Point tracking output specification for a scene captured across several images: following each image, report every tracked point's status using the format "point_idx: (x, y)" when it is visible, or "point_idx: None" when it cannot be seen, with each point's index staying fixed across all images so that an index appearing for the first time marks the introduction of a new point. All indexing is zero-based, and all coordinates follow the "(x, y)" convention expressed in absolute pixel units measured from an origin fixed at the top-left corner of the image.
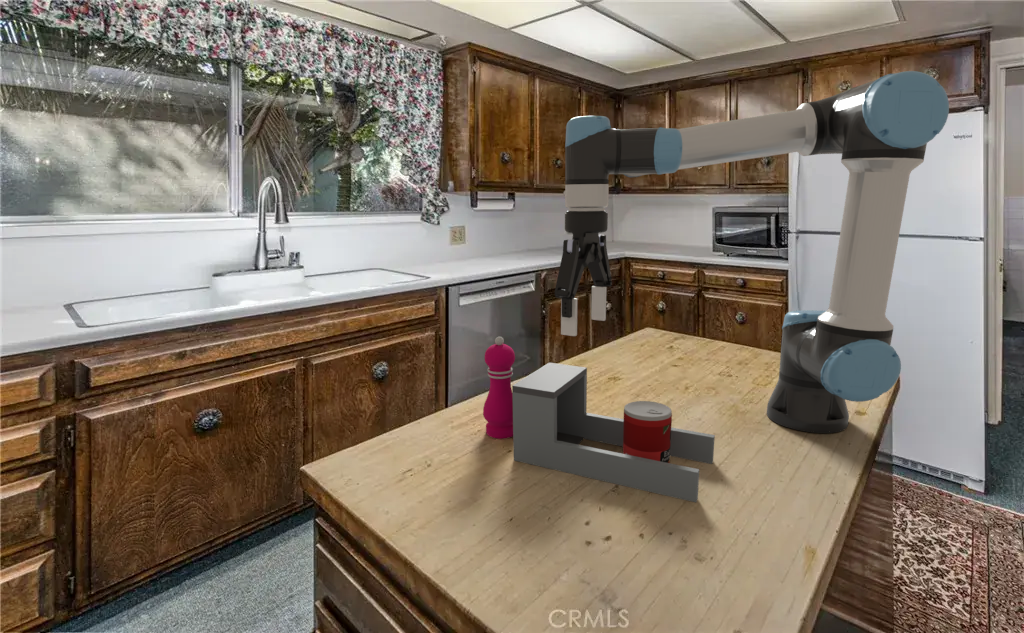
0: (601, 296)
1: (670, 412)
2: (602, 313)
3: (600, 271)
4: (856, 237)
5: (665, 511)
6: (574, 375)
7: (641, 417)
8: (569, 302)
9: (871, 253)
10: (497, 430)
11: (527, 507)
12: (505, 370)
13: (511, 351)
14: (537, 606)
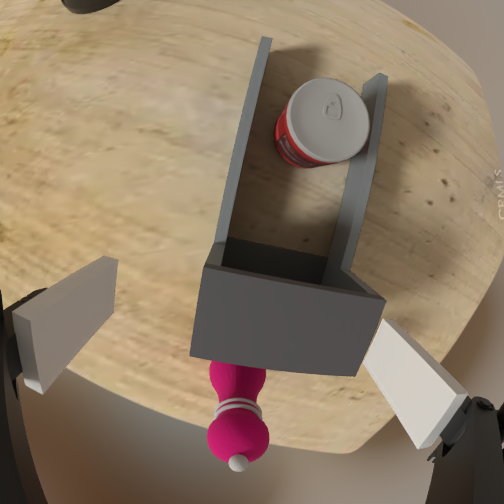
0: (63, 316)
1: (337, 80)
2: (104, 277)
3: (13, 440)
4: None
5: (396, 122)
6: (274, 285)
7: (368, 131)
8: (468, 398)
9: None
10: None
11: (414, 267)
12: (251, 412)
13: (242, 432)
14: (498, 227)
